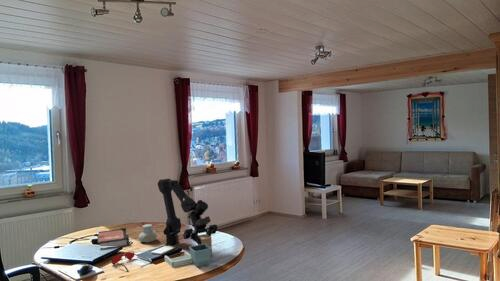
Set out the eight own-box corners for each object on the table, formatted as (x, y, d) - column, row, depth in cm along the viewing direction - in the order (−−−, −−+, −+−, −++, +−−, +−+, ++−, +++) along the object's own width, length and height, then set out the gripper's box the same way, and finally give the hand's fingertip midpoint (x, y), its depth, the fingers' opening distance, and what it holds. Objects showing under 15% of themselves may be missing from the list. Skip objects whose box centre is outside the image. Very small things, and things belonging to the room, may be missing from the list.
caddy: (198, 255, 205) (197, 235, 205) (206, 253, 208) (206, 233, 207) (203, 259, 199) (202, 238, 198) (212, 257, 201) (211, 236, 201)
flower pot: (195, 269, 185) (194, 251, 185) (189, 264, 193) (188, 246, 192) (212, 266, 189) (211, 248, 189) (205, 260, 197) (205, 243, 197)
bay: (164, 260, 199) (164, 255, 199) (186, 255, 205) (186, 251, 205) (172, 267, 189) (172, 262, 189) (194, 262, 195) (194, 257, 195)
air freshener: (140, 244, 229) (139, 228, 229) (138, 241, 237) (137, 225, 237) (158, 241, 234) (157, 225, 234) (155, 238, 241) (155, 222, 241)
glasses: (134, 258, 206) (133, 249, 206) (152, 264, 195) (151, 255, 195) (110, 266, 195) (109, 256, 195) (128, 273, 185) (127, 263, 184)
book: (97, 238, 247) (97, 231, 246) (125, 235, 253) (125, 227, 253) (98, 250, 222) (97, 241, 222) (129, 245, 229) (128, 237, 229)
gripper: (184, 214, 201) (192, 240, 192) (216, 209, 211) (225, 233, 201) (179, 226, 208) (187, 251, 199) (210, 221, 218) (219, 244, 208)
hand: (205, 245), depth 202 cm, fingers closed on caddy, 5 cm apart
